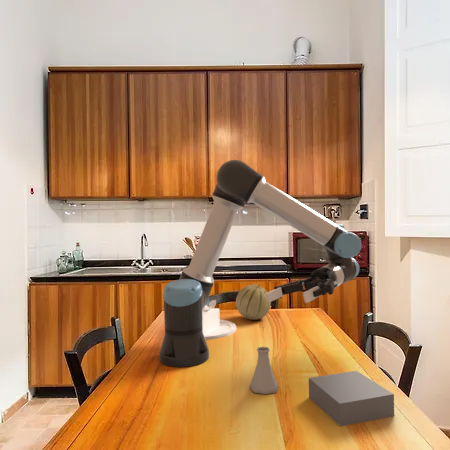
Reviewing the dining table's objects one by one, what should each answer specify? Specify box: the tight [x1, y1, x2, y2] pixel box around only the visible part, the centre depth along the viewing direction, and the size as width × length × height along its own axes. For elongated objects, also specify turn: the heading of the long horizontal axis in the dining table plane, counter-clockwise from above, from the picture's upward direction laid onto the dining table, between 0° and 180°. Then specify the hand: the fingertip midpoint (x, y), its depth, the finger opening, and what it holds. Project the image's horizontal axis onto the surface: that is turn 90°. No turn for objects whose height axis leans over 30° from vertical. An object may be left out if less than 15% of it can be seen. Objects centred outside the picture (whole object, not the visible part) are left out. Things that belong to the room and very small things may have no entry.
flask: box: [249, 346, 279, 395], centre depth 93 cm, size 7×7×10 cm
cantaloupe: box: [235, 283, 271, 321], centre depth 159 cm, size 15×15×15 cm
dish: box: [202, 299, 237, 341], centre depth 145 cm, size 25×25×11 cm
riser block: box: [308, 370, 395, 427], centre depth 83 cm, size 13×13×5 cm
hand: (284, 297), depth 103 cm, fingers open, 13 cm apart
